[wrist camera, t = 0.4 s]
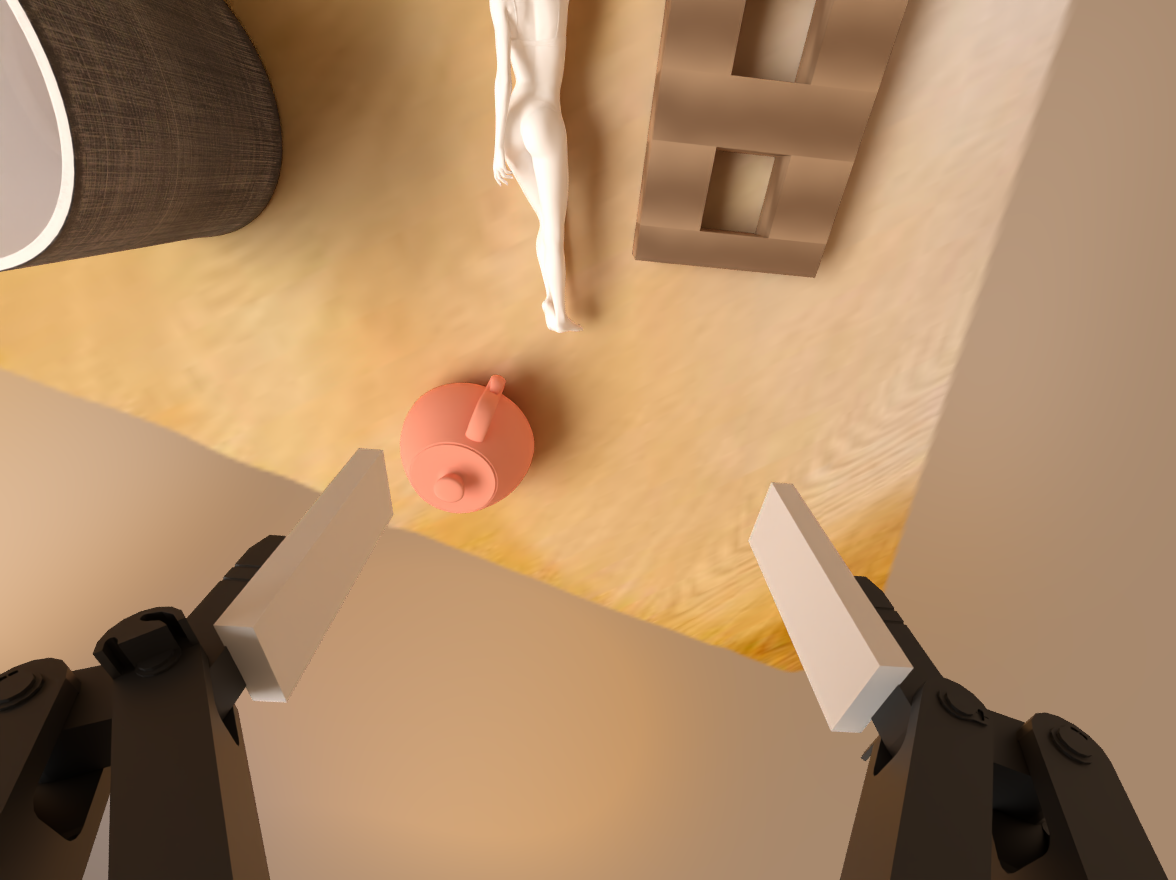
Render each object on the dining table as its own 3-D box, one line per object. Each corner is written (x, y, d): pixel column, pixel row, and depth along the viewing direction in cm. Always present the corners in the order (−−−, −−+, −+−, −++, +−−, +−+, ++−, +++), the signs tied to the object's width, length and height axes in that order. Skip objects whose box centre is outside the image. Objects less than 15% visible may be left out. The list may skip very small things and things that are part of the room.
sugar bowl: (398, 450, 46) (354, 515, 37) (442, 333, 40) (401, 378, 31) (507, 495, 49) (490, 564, 40) (565, 393, 43) (559, 449, 34)
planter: (314, 240, 36) (148, 280, 22) (89, 232, 35) (-219, 267, 22) (231, -82, 27) (-134, -345, 13) (-73, -97, 26) (-769, -384, 13)
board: (680, -111, 26) (691, -143, 23) (910, -79, 27) (944, -106, 24) (632, 253, 36) (635, 259, 34) (799, 270, 37) (814, 277, 34)
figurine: (569, 316, 41) (527, -73, 28) (618, 323, 38) (596, -111, 25) (509, 341, 36) (426, -114, 24) (560, 352, 33) (495, -169, 20)
